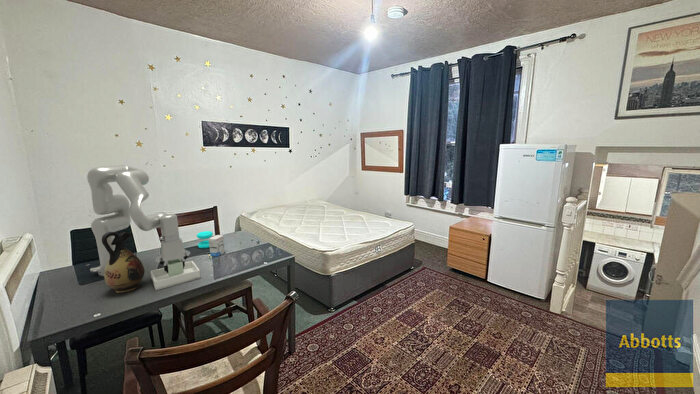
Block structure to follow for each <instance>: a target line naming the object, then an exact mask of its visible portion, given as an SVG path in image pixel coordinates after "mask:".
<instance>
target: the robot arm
mask: <svg viewBox="0 0 700 394" xmlns="http://www.w3.org/2000/svg"><path fill="white" fill-rule="evenodd" d="M86 179H87V183H88V185H89V188H90V190H91V201H92V209H93V212H94V213H95V214H96V215H99V216H100V217H97V218H96V219H94V220H93V221H92V222H91V225H90V227H91V231H92V232H93V235H94V237H95V238H94V239H95V240H96V241H95V242H96V246H97V252H98V257H99V258H98V259H99V262H100V264H99V266H97V267H91V268H89V270H90V273H98V275H99V276H100V277H104V271H105V267H106V264H107V262H108V260H109V259H110V254H109V252H107V250H106V248H105V246H104V245H103V244H102V236H103V235H104V234H105V233H107V232H116V233H117V232H118V231H122V230H126V229H127V228H129V226H130V225H131V222H132V221H133V223H134V224H135V226H137V228H138V229H139V230H141V231H144V232H149V231H152V230H156V229H158V228H160V231H161V236H159V237H158V240H159V241H161V242H160V254H159V255H158V256H157V257H156V258H155V262H156V263H158V264H160V265H162V266H163V268H164V270H165V271H166V272H167V273H168V266H167V262H168V261H170V260H175V259H179V258H180V259H181V261H182V262H183V269H184V266H185V263H186V260H187V258H188V257H189V256H190V255H191V252H190V251H189V250H188V249H185V245H184V243H183V239H182V238H181V236H180V230H179V222H178V216H177V214H176V213H166V212H162V211H161V212H160V211H159V212H156V213H152V214H147V215H145V214H144V212H143V211H142V207H141V205H142V203H143V202H145V201H146V200H148V198H149V196H150V194H149V192H148V190H147V189H146V188H145V186H144V185H147V184H148V183H149V180H150V177H149V175H148V173H146V172H145V171H144V170H142V169H139V168H137V167H133V166H129V165H123V164H120V165H105V166H97V167H94V168H91V169H90V170H89V171H88V173H87V175H86ZM110 183H117V185H118V186H119V188H120V189H121V190H122V192H123V193H124V194H125V195H123V194H114V191H113V188H112V186H111V185H110ZM109 214H110V215H109ZM104 215H105V216H104ZM114 238H115V236H110V237H108V238H107V242H108V244H109V246H110V247H111V249H112V250H113V251H114V250H115V245H111V243H112V241H113V239H114ZM161 259H162V260H161Z"/></svg>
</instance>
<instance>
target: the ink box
mask: <svg viewBox="0 0 700 394" xmlns="http://www.w3.org/2000/svg"><path fill="white" fill-rule="evenodd" d="M208 240H209V253H210V254H209V255H210V257H216V258H217V257H219V256H220V255H222V254H224V253H225V252H226V251H225V250H226V249H225V240H224V235H223V234H217V235H214V236H213V235H212V237H210V238H208Z"/></svg>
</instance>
